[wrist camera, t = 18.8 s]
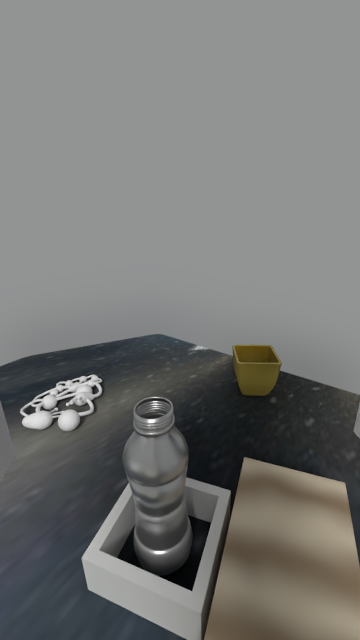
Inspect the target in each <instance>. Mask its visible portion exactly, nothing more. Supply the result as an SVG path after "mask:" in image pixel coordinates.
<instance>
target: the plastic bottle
mask: <svg viewBox="0 0 360 640" xmlns="http://www.w3.org/2000/svg"><path fill="white" fill-rule="evenodd" d="M133 414H134V420H133V427H134V430H135V431H134V432H133V433H132V434H131V436H130V438H129V439H128V441H127V442H126V445H125V447H124V452H123V459H122V460H123V465H124V469H125V472H126V476H127V479H128V481H129V484H130V487H131V490H132V495H133V500H134V505H135V529H134V550H135V553H136V556H137V558H138V560H139V563H140V564H141V566H142V567H143V568H144V569H145V570H146V571H147V572H149V573H152V574H154V575H157V576H164V575H169V574H172V573H174V572H176V571H177V570H179V569H180V568H181V567H182V566H183V565H184V564H185V562H186V561H187V559H188V557H189V554H190V550H191V546H192V541H193V533H192V528H191V523H190V520H189V517H188V514H187V508H186V502H185V481H186V474H187V467H188V458H189V449H188V445H187V443H186V440H185V438H184V436H183V435H182V434H181V432H180V431H179V430H178V429H177V428H176V427H175V426H174V423H175V419H174V415H173V405H172V403H171V401H170V400H168V399H166V398H164V397H148V398H145V399H143V400H141V401H139V402H138V403H137V404H136V405H135V407H134V411H133Z"/></svg>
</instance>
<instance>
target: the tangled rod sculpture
mask: <svg viewBox="0 0 360 640" xmlns="http://www.w3.org/2000/svg"><path fill="white" fill-rule="evenodd" d="M90 377H91V380H89V381H87V378H90ZM75 380H80V382H76V383H73V381H75ZM98 380H100V381H98ZM86 381H87V382H86ZM101 382H102V379H100V378H98V376H96V375H90V376H88V377H85V376H82V377H80V378H76V379H73V380H71V381H70V380H68V381H67V382H59V383H57V384H56V386H57V387H56V388H54V389H51V390H49V391H47V392H45V393H42V394H40V395H38V396H37V397H35V398H34V399H33V401H32V402H30V403H29V404H27V405H26V406H24V407H23V408H22V409H21V411H20V413H21V414H22V415H24V416H25V418H24V419H23V421H22V424H23V425H24V426H25V427H28V428H33V429H40V430H41V429H45V428H47V427H49V426H50V425H51V424H52V421H53V418H56V417H59V418H58V424H59V427H60V428H61V429H62V430H64V431H72V430H74V429H75V428H76V427H77V426H78V425H79V423H80V416H85V415H89V414H91V413H93V411H94V406H93V403H92V402H91V400H93V399H94V398H96V397H98V396H100V395H101V394H102V388H101V386H100V384H98V383H101ZM62 383H65V386H62V385H59V384H62ZM94 385H96V386H97V387H98V389H99V392H98V393H97V394H94V395H93V394H92V388H91V387H93V386H94ZM64 389H68V390H66V391H64V392H62V391H63V390H64ZM49 392H50V395H46V396H45V397H44V398H43V399H37V398H39V397H41V396H43V395H45V394H47V393H49ZM58 392H59V393H60V392H62V393H60V394H58ZM68 392H75V393H72V394H68V395H65V396H62V395H64V394H66V393H68ZM75 395H76V396H75ZM60 396H61V397H60ZM71 396H75V398H73V399H72V400H71V401H70V402H69V403H66V406H69V405H70V404H71V405H72V404H73V402H75V404H76V405H78V406H82V405H85V404H86V403H88V404H89V405H90V410H89V411H85V412H79V413H77V412H76V411H75V410H66V411H61V412H57V411H58V408H54V407H55V406H56V404H57V400H61V399H64V398H68V397H71ZM36 399H37V400H36ZM39 401H42V402H41V403H39V404H36V405H34V403H35V402H39ZM29 405H31V406H32V407H36V413H33V414H30V415H27V414H25V413H24V412H23V410H24V409H25V408H27V407H28V406H29ZM41 406H43V408H45V409H52V408H54V410H52V411H50V412H48V411H40V407H41ZM54 411H55V413H52V412H54ZM51 413H52V414H51ZM55 414H61V415H56V416H52V415H55Z"/></svg>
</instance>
